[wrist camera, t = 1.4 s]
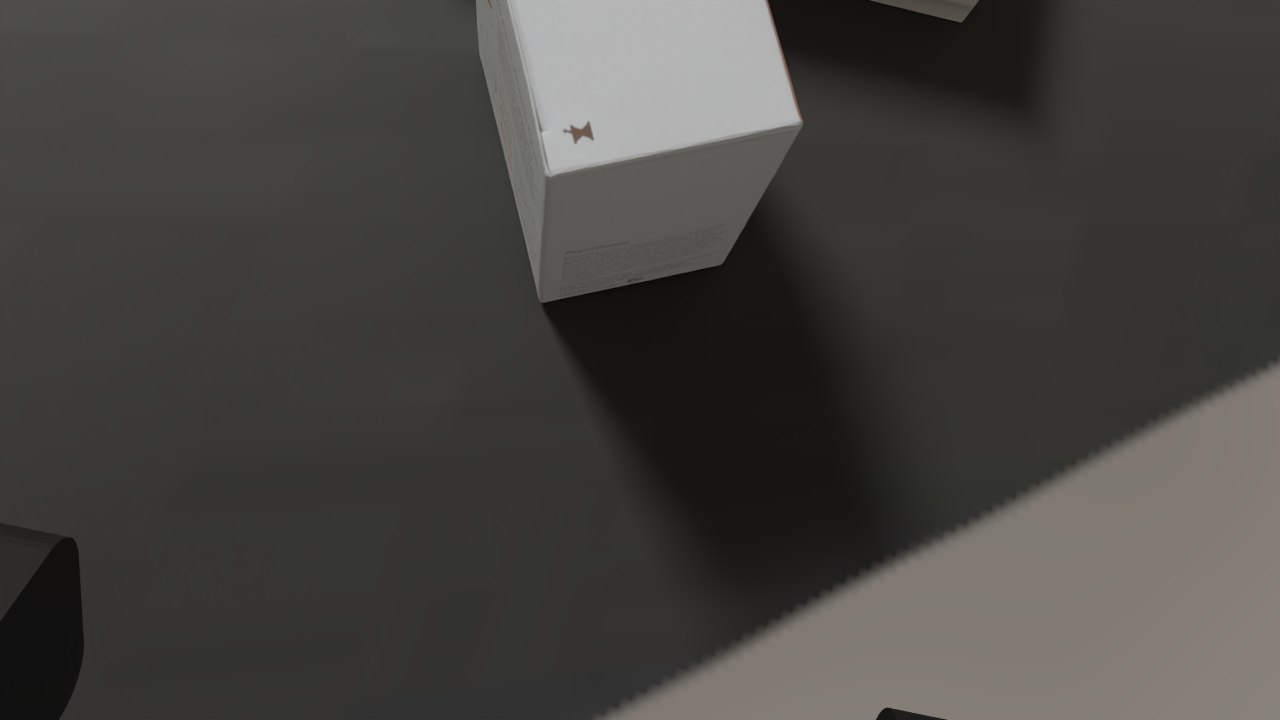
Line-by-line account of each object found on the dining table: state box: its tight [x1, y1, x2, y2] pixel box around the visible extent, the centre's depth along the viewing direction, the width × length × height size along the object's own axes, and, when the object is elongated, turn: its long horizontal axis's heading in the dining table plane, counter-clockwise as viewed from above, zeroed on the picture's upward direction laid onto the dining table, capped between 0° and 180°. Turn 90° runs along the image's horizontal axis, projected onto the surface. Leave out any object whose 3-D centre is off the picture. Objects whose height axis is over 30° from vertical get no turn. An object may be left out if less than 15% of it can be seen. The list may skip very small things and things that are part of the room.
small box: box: [476, 0, 803, 303], centre depth 30 cm, size 8×6×10 cm
